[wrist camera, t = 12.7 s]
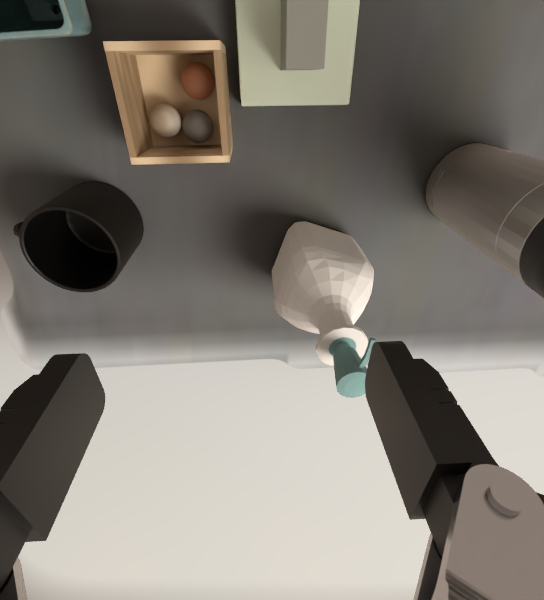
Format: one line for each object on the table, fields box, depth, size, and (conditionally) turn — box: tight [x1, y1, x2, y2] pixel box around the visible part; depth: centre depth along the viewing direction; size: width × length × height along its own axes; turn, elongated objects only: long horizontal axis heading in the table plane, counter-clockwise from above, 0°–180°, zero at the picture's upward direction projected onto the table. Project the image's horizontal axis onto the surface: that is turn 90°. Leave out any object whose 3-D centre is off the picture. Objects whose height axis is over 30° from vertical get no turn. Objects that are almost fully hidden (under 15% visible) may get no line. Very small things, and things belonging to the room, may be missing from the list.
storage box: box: [103, 40, 233, 165], centre depth 31 cm, size 9×9×7 cm
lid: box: [235, 0, 360, 106], centre depth 28 cm, size 11×11×8 cm
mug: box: [14, 182, 144, 292], centre depth 37 cm, size 9×12×9 cm
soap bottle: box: [272, 221, 376, 397], centre depth 35 cm, size 10×10×23 cm
